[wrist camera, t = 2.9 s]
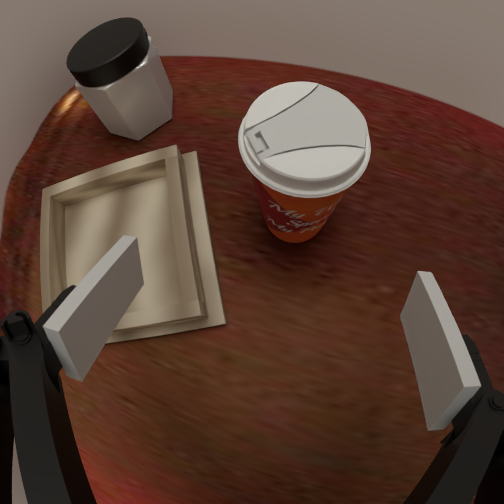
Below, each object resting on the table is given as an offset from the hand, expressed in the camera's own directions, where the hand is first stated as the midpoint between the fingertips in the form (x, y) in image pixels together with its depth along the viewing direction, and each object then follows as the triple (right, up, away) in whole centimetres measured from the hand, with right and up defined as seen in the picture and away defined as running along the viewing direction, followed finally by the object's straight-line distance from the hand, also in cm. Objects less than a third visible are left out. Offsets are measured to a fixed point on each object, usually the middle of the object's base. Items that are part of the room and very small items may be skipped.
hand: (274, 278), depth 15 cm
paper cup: (+3, +5, +15) cm, 16 cm away
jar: (-14, +18, +20) cm, 30 cm away
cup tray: (-14, +1, +16) cm, 21 cm away
